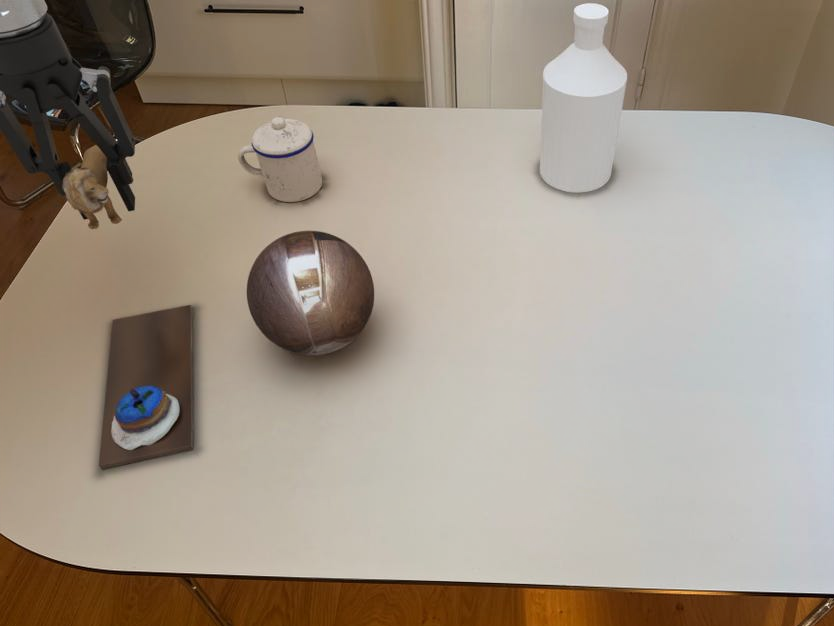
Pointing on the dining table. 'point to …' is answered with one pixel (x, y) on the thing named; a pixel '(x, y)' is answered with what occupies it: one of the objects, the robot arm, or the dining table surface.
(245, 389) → the dining table surface
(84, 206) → the lion figurine
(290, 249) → the wooden sphere
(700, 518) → the dining table surface
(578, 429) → the dining table surface
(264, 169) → the teacup with lid
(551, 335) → the dining table surface
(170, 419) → the dessert
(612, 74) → the bottle
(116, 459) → the walnut board
